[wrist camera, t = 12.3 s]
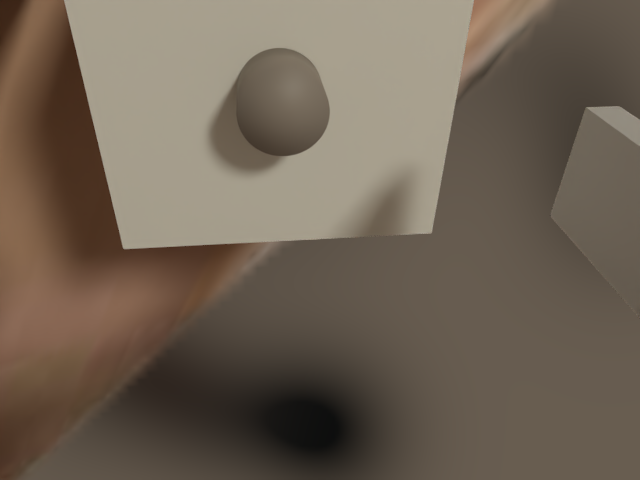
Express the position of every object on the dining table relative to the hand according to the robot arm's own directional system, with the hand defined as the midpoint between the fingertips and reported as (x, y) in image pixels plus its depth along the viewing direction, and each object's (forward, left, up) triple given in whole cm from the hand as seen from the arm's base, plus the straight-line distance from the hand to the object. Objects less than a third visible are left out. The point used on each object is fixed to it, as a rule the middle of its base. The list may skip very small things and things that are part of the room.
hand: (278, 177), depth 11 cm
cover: (0, 0, -19) cm, 19 cm away
